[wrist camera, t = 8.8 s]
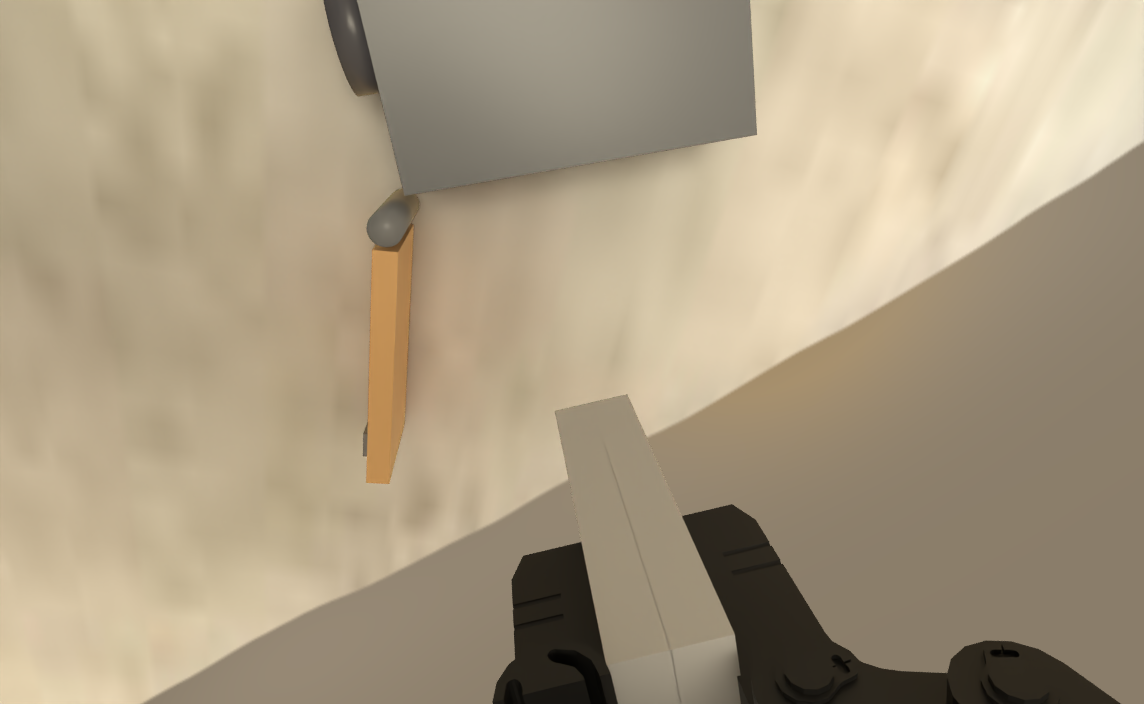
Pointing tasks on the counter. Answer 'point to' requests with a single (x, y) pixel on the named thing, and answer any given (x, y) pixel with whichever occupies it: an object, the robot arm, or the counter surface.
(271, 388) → the counter surface
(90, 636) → the counter surface
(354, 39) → the camera body
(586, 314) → the counter surface
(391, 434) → the side door
